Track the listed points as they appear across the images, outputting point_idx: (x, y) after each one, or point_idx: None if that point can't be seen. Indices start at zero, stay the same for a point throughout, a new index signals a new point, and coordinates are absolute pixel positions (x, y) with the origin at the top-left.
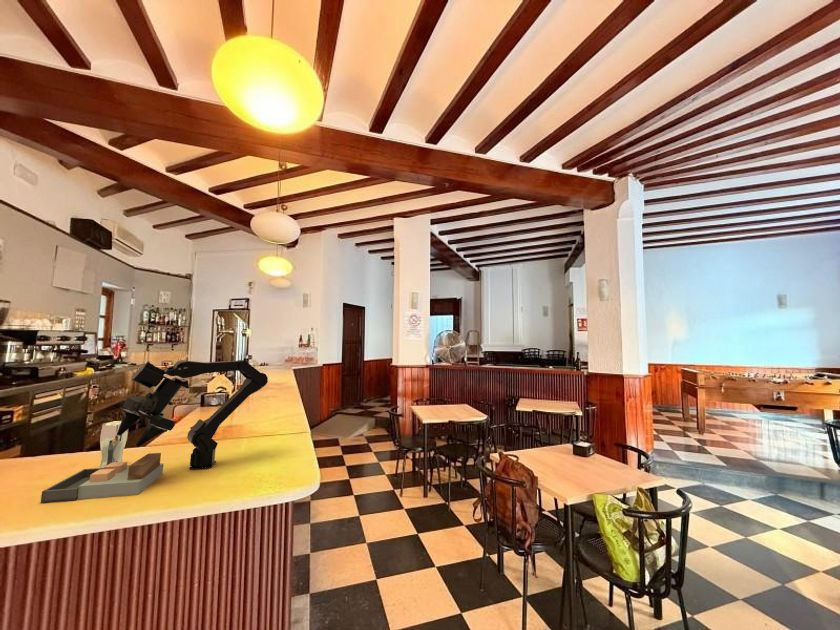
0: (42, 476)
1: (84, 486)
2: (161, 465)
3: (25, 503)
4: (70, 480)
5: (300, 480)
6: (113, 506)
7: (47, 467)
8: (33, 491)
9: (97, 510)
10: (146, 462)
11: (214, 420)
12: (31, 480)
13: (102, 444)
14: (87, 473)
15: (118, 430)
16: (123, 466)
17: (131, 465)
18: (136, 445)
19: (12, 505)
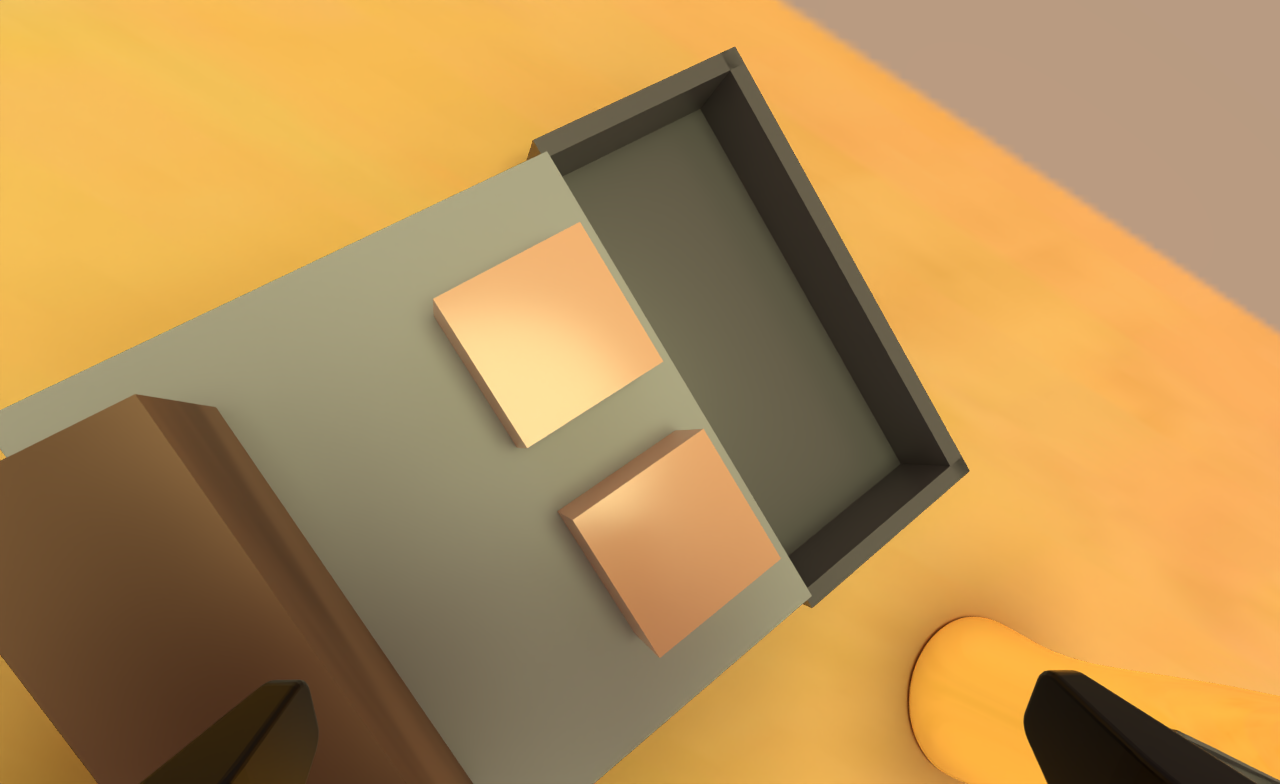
0: (1145, 395)
1: (507, 174)
2: None
3: (778, 77)
4: (848, 317)
5: None
6: (24, 167)
7: (1268, 498)
8: (940, 220)
9: (94, 77)
10: None
11: None
12: (1126, 332)
13: (1227, 691)
14: (911, 475)
15: (1173, 741)
16: (608, 584)
17: (109, 422)
18: (258, 688)
19: (812, 42)
